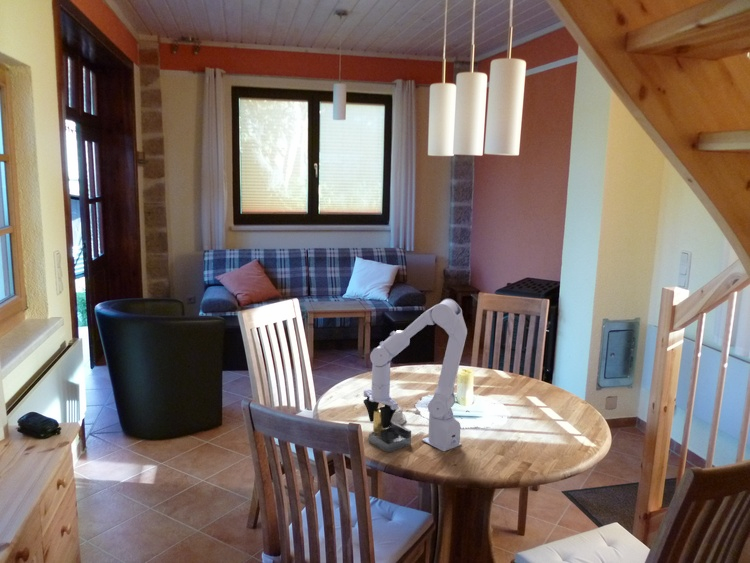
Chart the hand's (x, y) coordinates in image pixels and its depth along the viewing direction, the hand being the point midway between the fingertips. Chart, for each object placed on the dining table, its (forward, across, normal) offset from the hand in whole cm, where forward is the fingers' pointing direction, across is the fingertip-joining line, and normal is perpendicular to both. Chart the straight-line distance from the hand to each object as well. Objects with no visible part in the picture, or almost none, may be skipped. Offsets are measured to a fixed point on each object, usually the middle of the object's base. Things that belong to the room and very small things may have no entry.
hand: (379, 424), depth 190 cm
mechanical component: (+3, -5, +10) cm, 11 cm away
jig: (+2, +9, -3) cm, 9 cm away
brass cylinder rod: (+2, 0, 0) cm, 3 cm away
